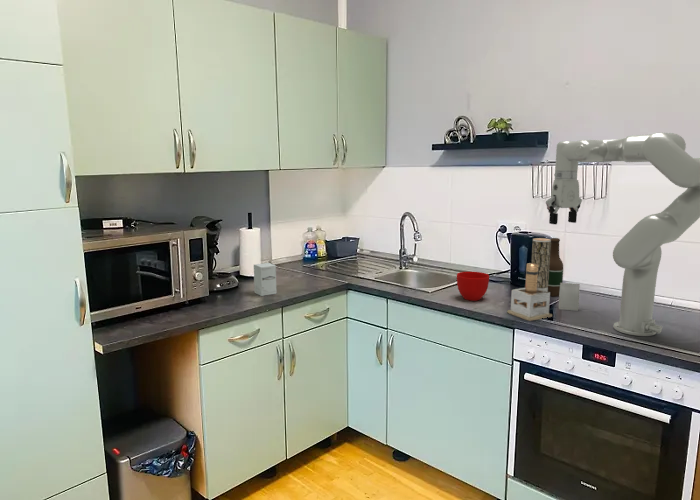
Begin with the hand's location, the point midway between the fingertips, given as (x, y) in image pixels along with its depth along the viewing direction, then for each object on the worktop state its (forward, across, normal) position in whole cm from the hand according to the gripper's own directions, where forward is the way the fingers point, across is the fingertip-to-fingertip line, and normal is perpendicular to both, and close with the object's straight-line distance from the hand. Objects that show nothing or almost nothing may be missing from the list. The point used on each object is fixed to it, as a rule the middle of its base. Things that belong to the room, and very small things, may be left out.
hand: (562, 223), depth 190 cm
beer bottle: (+34, +17, +18) cm, 42 cm away
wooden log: (+34, +5, +14) cm, 37 cm away
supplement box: (+34, -90, +76) cm, 122 cm away
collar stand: (+33, -13, +1) cm, 36 cm away
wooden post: (+32, -13, +1) cm, 35 cm away
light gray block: (+34, +6, 0) cm, 34 cm away
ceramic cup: (+34, -15, +29) cm, 47 cm away
